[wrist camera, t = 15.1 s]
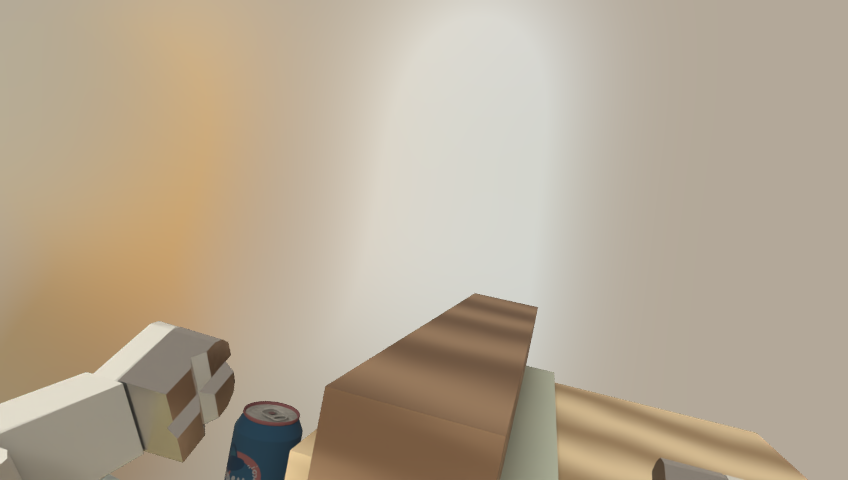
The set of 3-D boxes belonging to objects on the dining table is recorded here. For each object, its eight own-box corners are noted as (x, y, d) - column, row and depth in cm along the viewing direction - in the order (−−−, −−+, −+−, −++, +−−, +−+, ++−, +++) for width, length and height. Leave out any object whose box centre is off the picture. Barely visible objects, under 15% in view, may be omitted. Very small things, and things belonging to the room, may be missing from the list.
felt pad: (555, 530, 17) (559, 511, 17) (317, 457, 19) (320, 440, 19) (552, 381, 36) (554, 372, 36) (432, 351, 37) (433, 342, 37)
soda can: (202, 517, 58) (223, 404, 57) (257, 497, 63) (276, 395, 63) (244, 551, 54) (266, 430, 53) (298, 526, 60) (319, 417, 59)
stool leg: (466, 624, 12) (505, 436, 11) (291, 561, 12) (325, 386, 12) (526, 362, 37) (538, 303, 37) (468, 347, 38) (479, 290, 38)
